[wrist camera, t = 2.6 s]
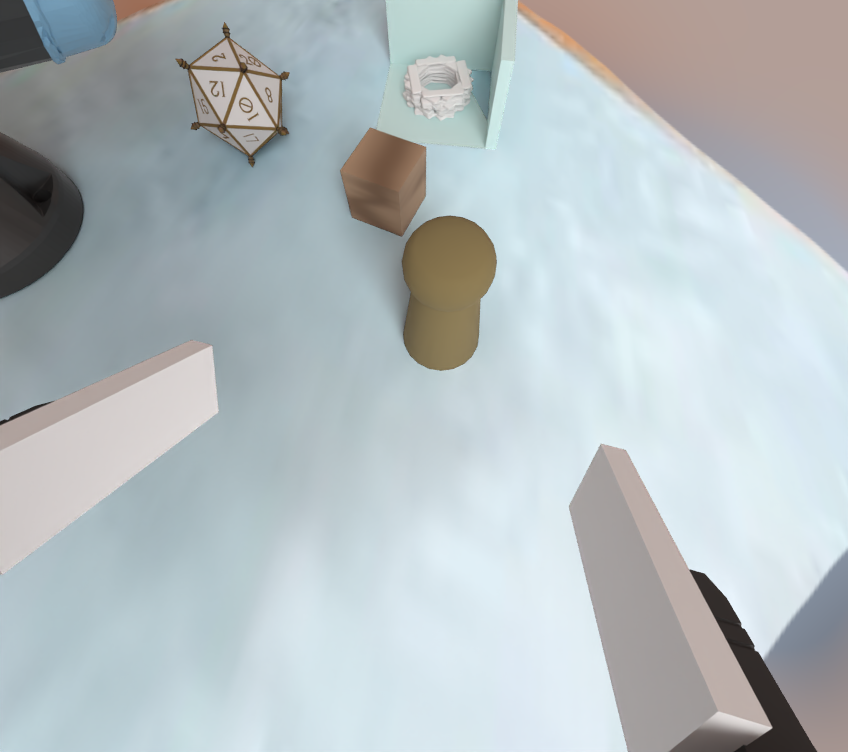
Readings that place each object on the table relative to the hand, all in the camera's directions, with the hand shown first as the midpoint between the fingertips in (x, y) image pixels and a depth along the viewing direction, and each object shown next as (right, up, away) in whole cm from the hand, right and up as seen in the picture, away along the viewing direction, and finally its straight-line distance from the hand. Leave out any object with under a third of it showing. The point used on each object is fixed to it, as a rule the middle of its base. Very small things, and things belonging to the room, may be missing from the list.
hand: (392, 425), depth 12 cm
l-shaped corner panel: (+3, +30, +25) cm, 39 cm away
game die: (-15, +24, +23) cm, 37 cm away
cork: (+2, +5, +17) cm, 18 cm away
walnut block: (-2, +17, +21) cm, 27 cm away
